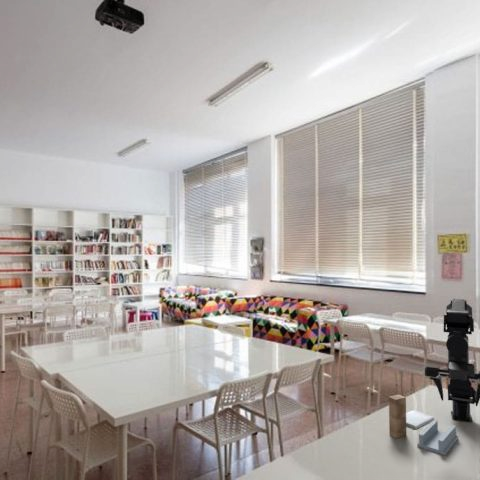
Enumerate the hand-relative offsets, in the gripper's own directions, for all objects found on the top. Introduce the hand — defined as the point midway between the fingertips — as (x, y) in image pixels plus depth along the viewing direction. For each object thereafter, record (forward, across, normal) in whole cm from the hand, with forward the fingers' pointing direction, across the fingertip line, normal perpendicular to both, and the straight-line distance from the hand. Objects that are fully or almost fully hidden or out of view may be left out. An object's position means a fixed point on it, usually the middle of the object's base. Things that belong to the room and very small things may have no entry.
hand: (459, 403), depth 123 cm
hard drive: (+13, -15, +18) cm, 27 cm away
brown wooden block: (+14, -18, +3) cm, 23 cm away
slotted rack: (+14, -6, +4) cm, 16 cm away
